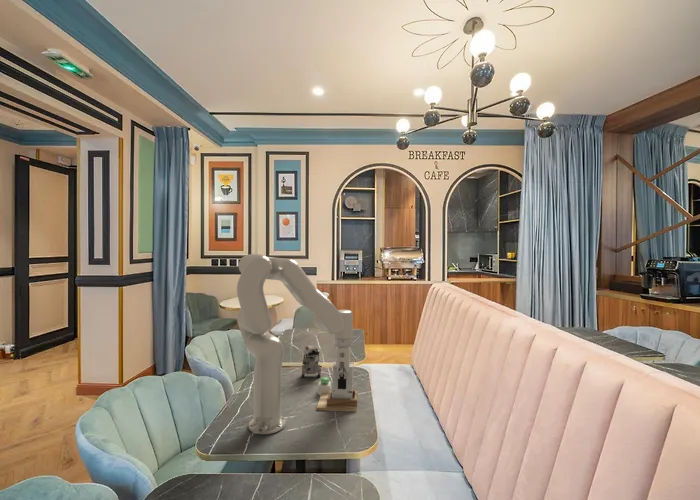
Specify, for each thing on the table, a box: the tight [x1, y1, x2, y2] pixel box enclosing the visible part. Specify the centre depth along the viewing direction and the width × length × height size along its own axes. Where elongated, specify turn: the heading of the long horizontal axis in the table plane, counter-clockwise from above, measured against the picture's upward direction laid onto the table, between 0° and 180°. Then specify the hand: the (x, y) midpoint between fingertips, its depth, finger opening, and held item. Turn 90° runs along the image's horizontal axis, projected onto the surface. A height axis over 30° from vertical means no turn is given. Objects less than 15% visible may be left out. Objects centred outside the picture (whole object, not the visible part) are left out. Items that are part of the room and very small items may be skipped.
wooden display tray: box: [316, 388, 359, 412], centre depth 140 cm, size 13×15×4 cm
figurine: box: [301, 344, 322, 378], centre depth 167 cm, size 9×12×15 cm
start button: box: [320, 376, 330, 384], centre depth 150 cm, size 4×4×5 cm
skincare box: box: [331, 361, 355, 399], centre depth 140 cm, size 8×6×15 cm
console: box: [317, 380, 332, 396], centre depth 150 cm, size 5×5×4 cm
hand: (342, 383), depth 140 cm, fingers open, 9 cm apart
